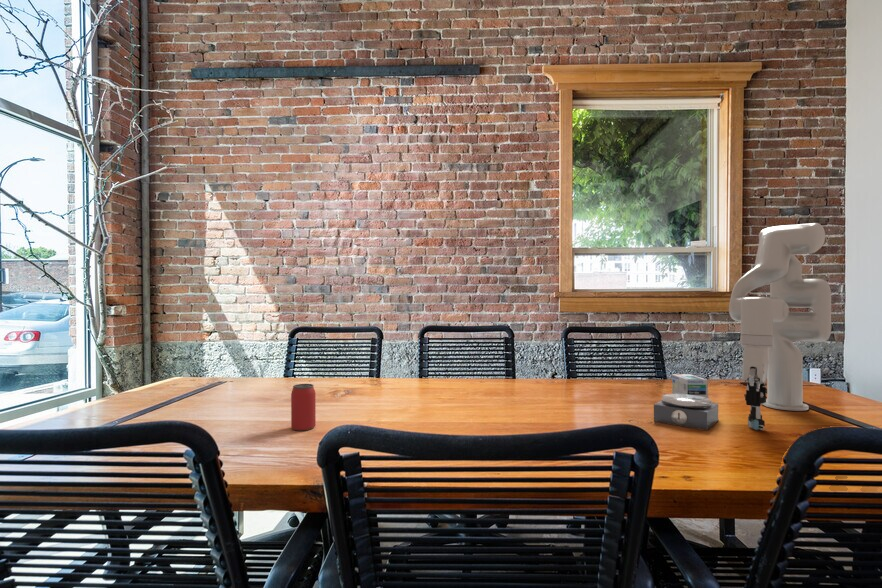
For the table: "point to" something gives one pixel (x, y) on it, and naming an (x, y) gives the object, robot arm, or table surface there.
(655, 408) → the scale
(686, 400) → the scale pan
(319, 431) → the table surface
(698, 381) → the light bulb box
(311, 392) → the beer can
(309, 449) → the table surface
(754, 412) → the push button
